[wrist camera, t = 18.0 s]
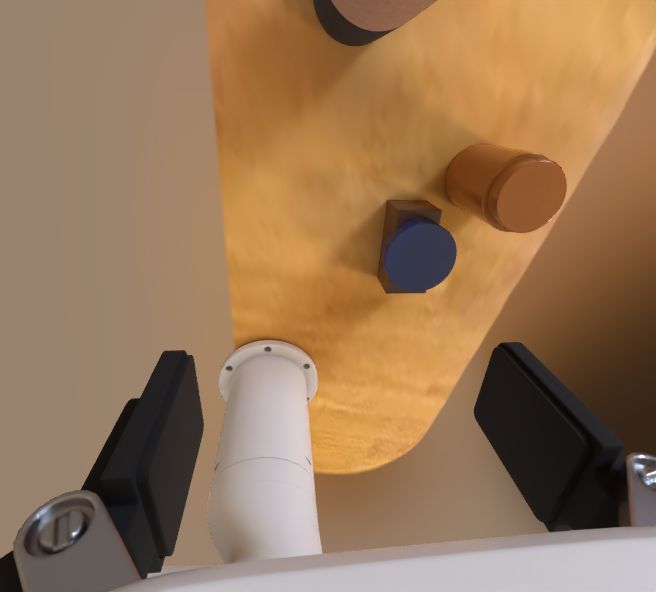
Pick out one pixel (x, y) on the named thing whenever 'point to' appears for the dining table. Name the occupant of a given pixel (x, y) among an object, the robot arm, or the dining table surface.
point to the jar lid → (418, 255)
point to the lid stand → (397, 215)
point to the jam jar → (506, 187)
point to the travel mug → (365, 18)
